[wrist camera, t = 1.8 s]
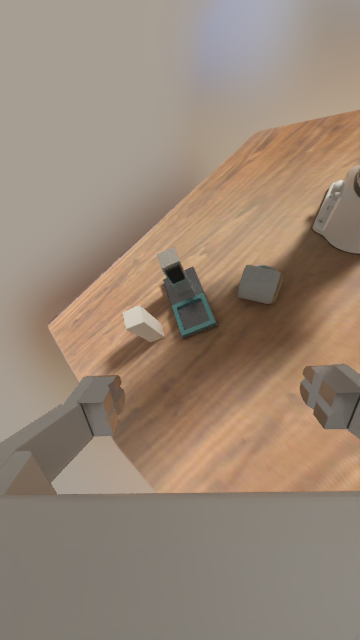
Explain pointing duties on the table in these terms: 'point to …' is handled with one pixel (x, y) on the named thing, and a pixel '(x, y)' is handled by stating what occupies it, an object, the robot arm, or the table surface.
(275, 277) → the ceramic mug
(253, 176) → the table surface
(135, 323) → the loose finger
